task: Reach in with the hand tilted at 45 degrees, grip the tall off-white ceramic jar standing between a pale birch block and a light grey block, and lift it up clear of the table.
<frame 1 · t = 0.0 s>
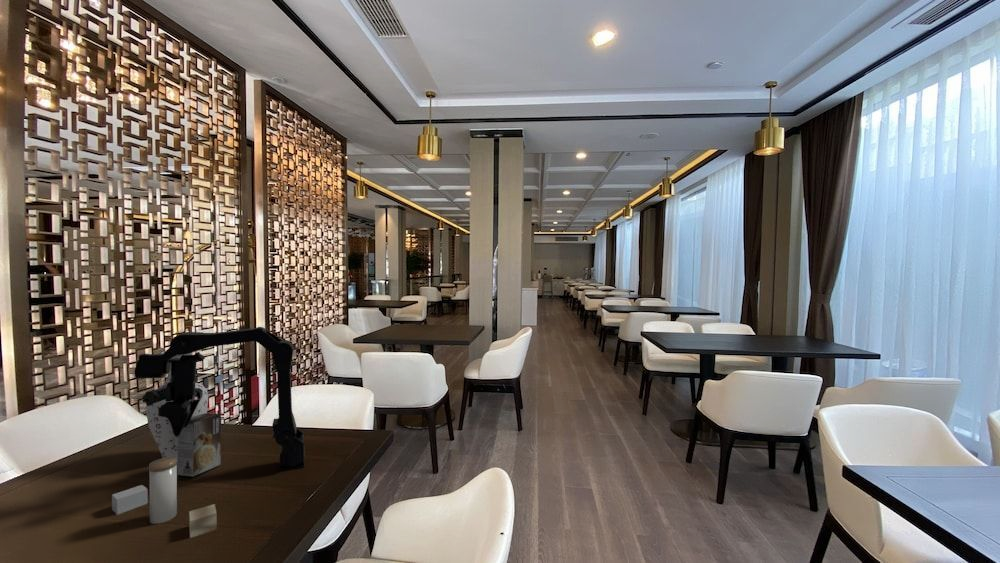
hand: (180, 431, 116), 16 cm above the table, tool pointing down, fingers open, 7 cm apart
grey block: (130, 507, 105), on the table
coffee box: (199, 470, 124), on the table, touching gripper
vase: (178, 456, 134), on the table
birch block: (202, 528, 96), on the table
ceramic jar: (163, 517, 101), on the table
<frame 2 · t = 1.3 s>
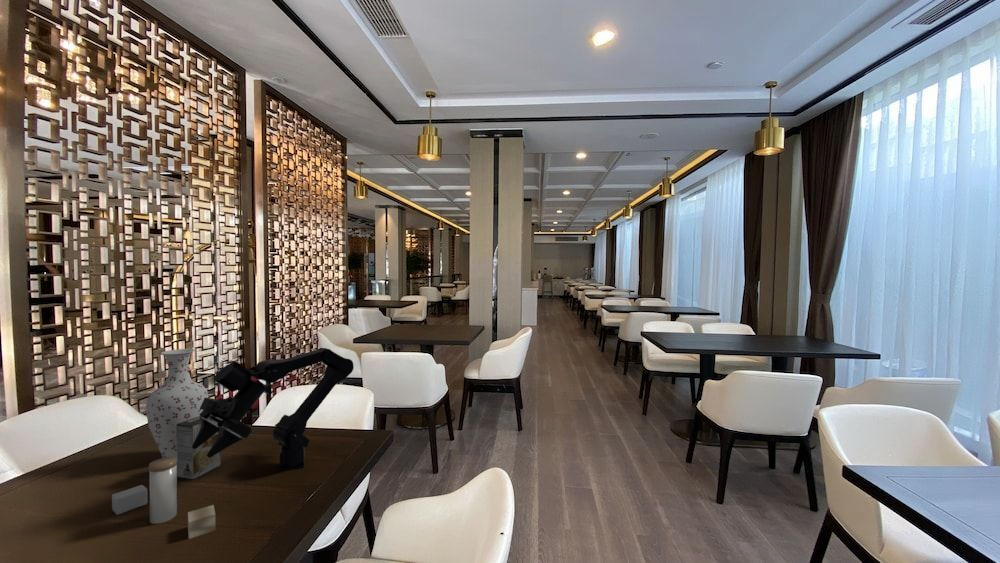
hand: (200, 452, 107), 13 cm above the table, tool tilted 45°, fingers open, 9 cm apart
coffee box: (199, 471, 124), on the table
everything else where it was.
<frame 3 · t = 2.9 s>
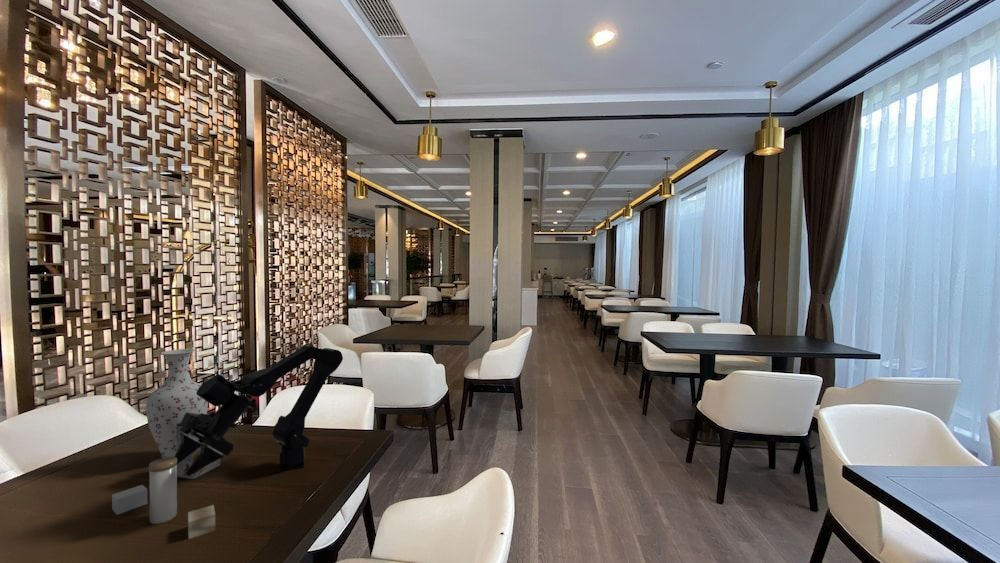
hand: (179, 470, 103), 11 cm above the table, tool tilted 45°, fingers open, 9 cm apart
nothing on the table moved.
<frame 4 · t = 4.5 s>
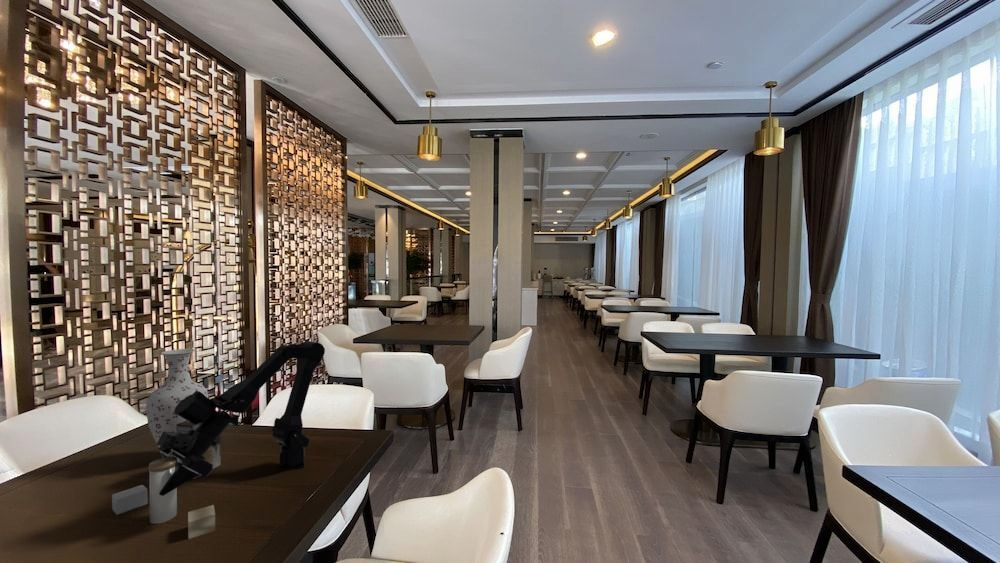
hand: (156, 491, 99), 7 cm above the table, tool tilted 45°, fingers closed on ceramic jar, 5 cm apart
ceramic jar: (163, 517, 101), on the table, touching gripper
everything else where it was.
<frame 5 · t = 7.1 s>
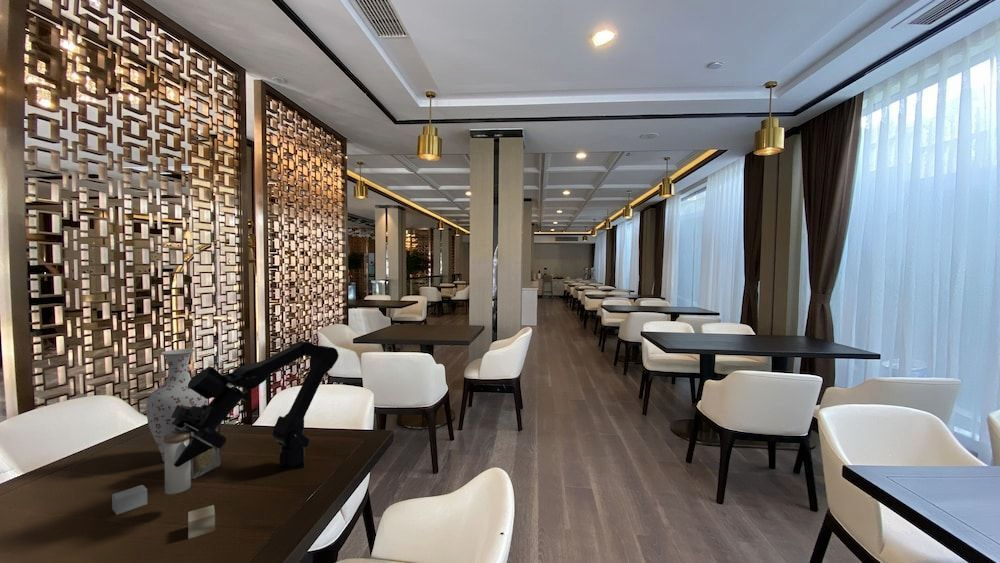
hand: (171, 463, 102), 13 cm above the table, tool tilted 45°, fingers closed on ceramic jar, 5 cm apart
ceramic jar: (178, 488, 103), point 6 cm above the table, touching gripper
everything else where it was.
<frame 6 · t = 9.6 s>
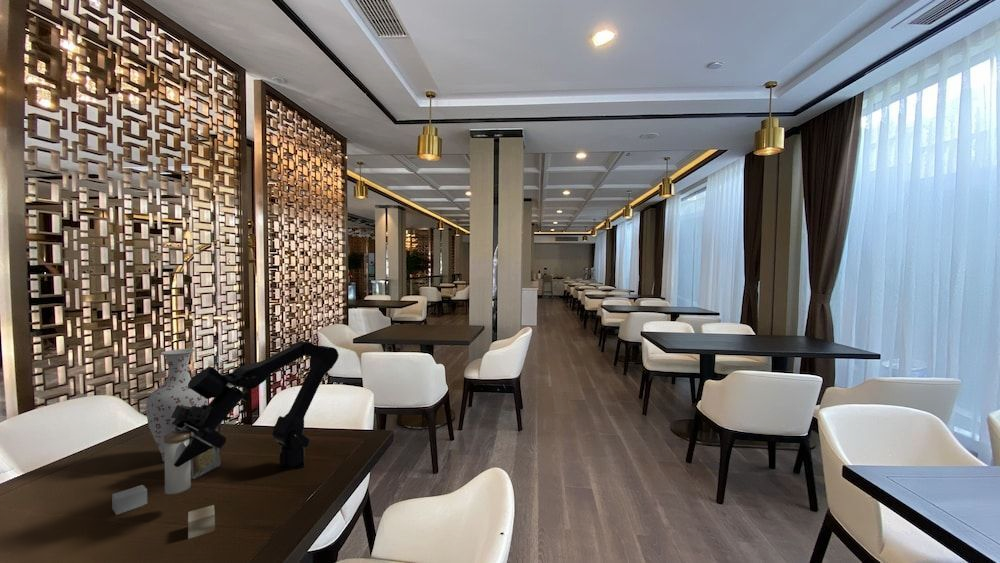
hand: (171, 463, 102), 13 cm above the table, tool tilted 45°, fingers closed on ceramic jar, 5 cm apart
ceramic jar: (178, 488, 103), point 6 cm above the table, touching gripper
everything else where it was.
at the end: the gripper is holding ceramic jar; ceramic jar point 5.9 cm above the table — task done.
